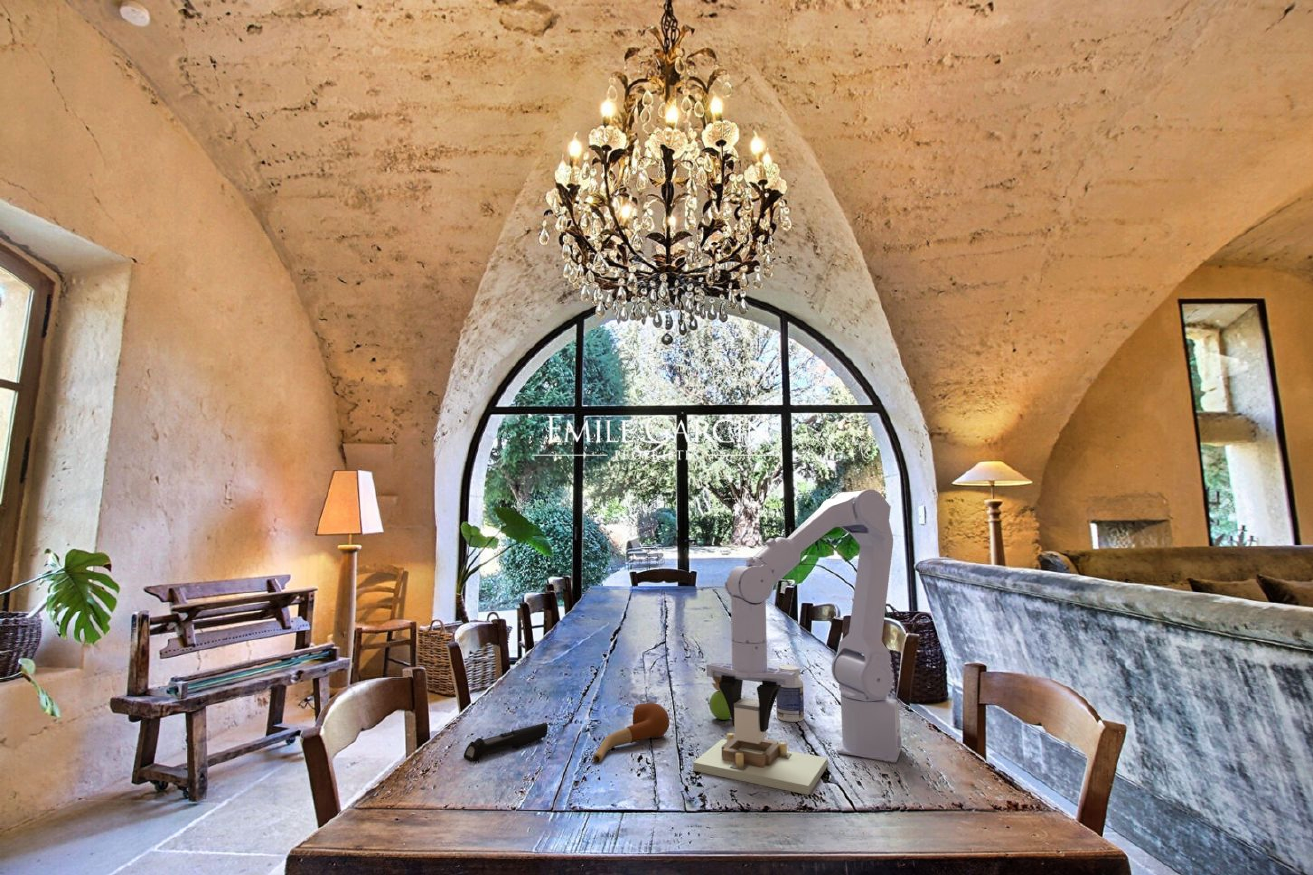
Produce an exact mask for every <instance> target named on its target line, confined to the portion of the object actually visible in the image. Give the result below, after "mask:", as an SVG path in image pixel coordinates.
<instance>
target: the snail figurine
mask: <svg viewBox="0 0 1313 875" xmlns="http://www.w3.org/2000/svg"><path fill="white" fill-rule="evenodd" d="M712 679H713V681H714V682H712V683H711V685H712V687H713V688H714V689H715V690H716V691H715V692H714V693H712V695H711V696H710V698H709V703H708V704H709V706H708V707H709V709H710V710H709V711H710V712H711V714H712V715H713V716H714V717H715V718H717V719H719V720H721V721H725V720H729V719H731V715H730V711H729V708H728V705H727V702H726V700H725V697H724V695H723V693H722V691H721V690H720V688H719V682H720V681H721V677H717V676H713V677H712Z"/></svg>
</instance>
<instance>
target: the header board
mask: <svg viewBox="0 0 1313 875" xmlns="http://www.w3.org/2000/svg"><path fill="white" fill-rule="evenodd" d="M733 737H735V733H731V732H729V733H726V738H725V739H724V738H722V739H720V740H719V741H718V742H717V743H715V744H714V745H713V746H712V747H710V748H709V749H708V750H707V751H705V752H704V753H702V754H701V755H700V756H699V757H698V758H697V759H695V760H694V761H693V762H692V771H694V772H698V773H703V774H708V775H712V776H718V777H723V778H727V779H731V780H736V781H741V782H746V783H749V784H755V785H760V786H765V787H769V788H770V787H771V788H774V789H780V790H784V791H787V792H793V793H798V794H803V795H807V796H808V795H810V794H811V792H812V791H813V789H814V787H815V786H816V785H817V782H818V781H819V780H820V779H821V776H823V774H824V773H825V770H827V767H828V765H829V764H828V762H829V761H828V757H824V756H818V755H814V754H808V753H803V752H797V751H792V750H791V751H790V750H788V744H787V743H786V742H784V741H783V742H778V744H779V756H778V757H777V759H776V760H775V761H774V762H773V763H772V764H771V765H770V766H765V767H764V768H760V767H755V766H750V765H747V764H744V761H743V754H742V753H736V762H730V761H725V760H722V746H723V745H724V744H726V743H727V742H728V741H729V740H730V739H732V738H733ZM738 750H741V751H746V752H752V753H757V754H763V753H764V751H758V750H753V749H747V748H742V747H741V748H740V749H738Z"/></svg>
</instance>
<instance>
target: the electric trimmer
mask: <svg viewBox="0 0 1313 875" xmlns="http://www.w3.org/2000/svg"><path fill="white" fill-rule="evenodd" d="M548 729H549V727H548V722H543V723H539V724H535V725H530V726H527V727H523V728H519V729H515V730H511V731H508V732H504V733H500V734H499V735H494V736H492V737H486V738H484V739H483V738H481V737H478V738H476V739H475V740H474V741H470V743H469V744H468V745H467V747H466V749H465V750H464V752H463V758H464V759H465V760H467V761H469V762H471V763H472V762H476V763H478V762H479V761H480V760H481V758H485V757H488V756H492V755H494V754H497V753H500V752H504V751H506V750H510V749H520V748H523V747H525V746H527V745H529V744H532V743H534V742H537V741H539V740H541V739H544V738H545V737H547V735H548Z"/></svg>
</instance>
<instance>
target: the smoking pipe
mask: <svg viewBox="0 0 1313 875" xmlns="http://www.w3.org/2000/svg"><path fill="white" fill-rule="evenodd" d="M669 726H670V716H669V714H668V712H667V710H666V709H665V708H664V707H663V706H662V705H661V704H658V703H655V702H646V703H641V704H640V703H639V704H636V705H635V707H634V709H633V713H632V725H631V724H630V725H629V726H626V727H625V728H623V729H620V730H617V731H615V732H613V733H610V734H608V735H607V736H606V737H605V738H604V739H603V741H602V743H601V744H600V745H599V747H598V748H597V750H596V752H595V753H594V754H593V756H592V759H593V762H594V763H596V762H597V763H599V764H600V763H602V761H603V759H604V757H605V755H606V753H608V751H609V750H610V749H613V748H615V747H618V746H623V745H627V744H633V743H637V742H641V741H643V740H646V739H649V738H654V739H658V738H661V737H663V736H664V735H665V734H666V733H667V732H668V730H669Z"/></svg>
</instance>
